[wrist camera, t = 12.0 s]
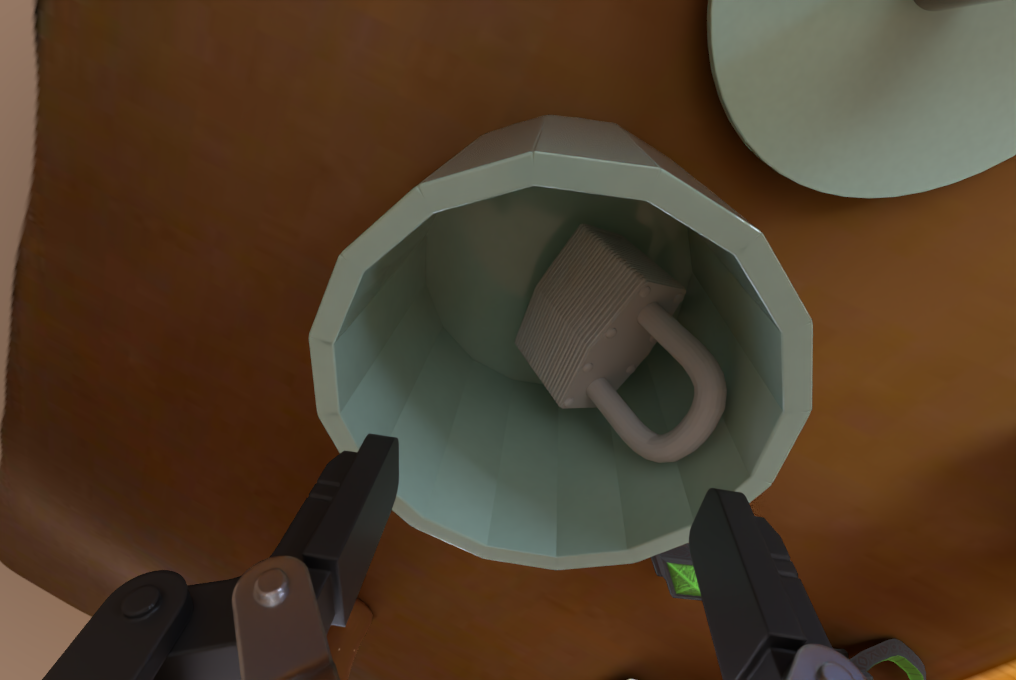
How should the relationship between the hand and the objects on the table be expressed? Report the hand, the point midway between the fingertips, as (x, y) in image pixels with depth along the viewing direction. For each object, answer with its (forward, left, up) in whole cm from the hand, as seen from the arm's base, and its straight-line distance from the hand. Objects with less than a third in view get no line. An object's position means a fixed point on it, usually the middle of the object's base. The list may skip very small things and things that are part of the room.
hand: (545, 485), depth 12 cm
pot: (0, 0, -15) cm, 15 cm away
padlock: (0, 0, -14) cm, 14 cm away
